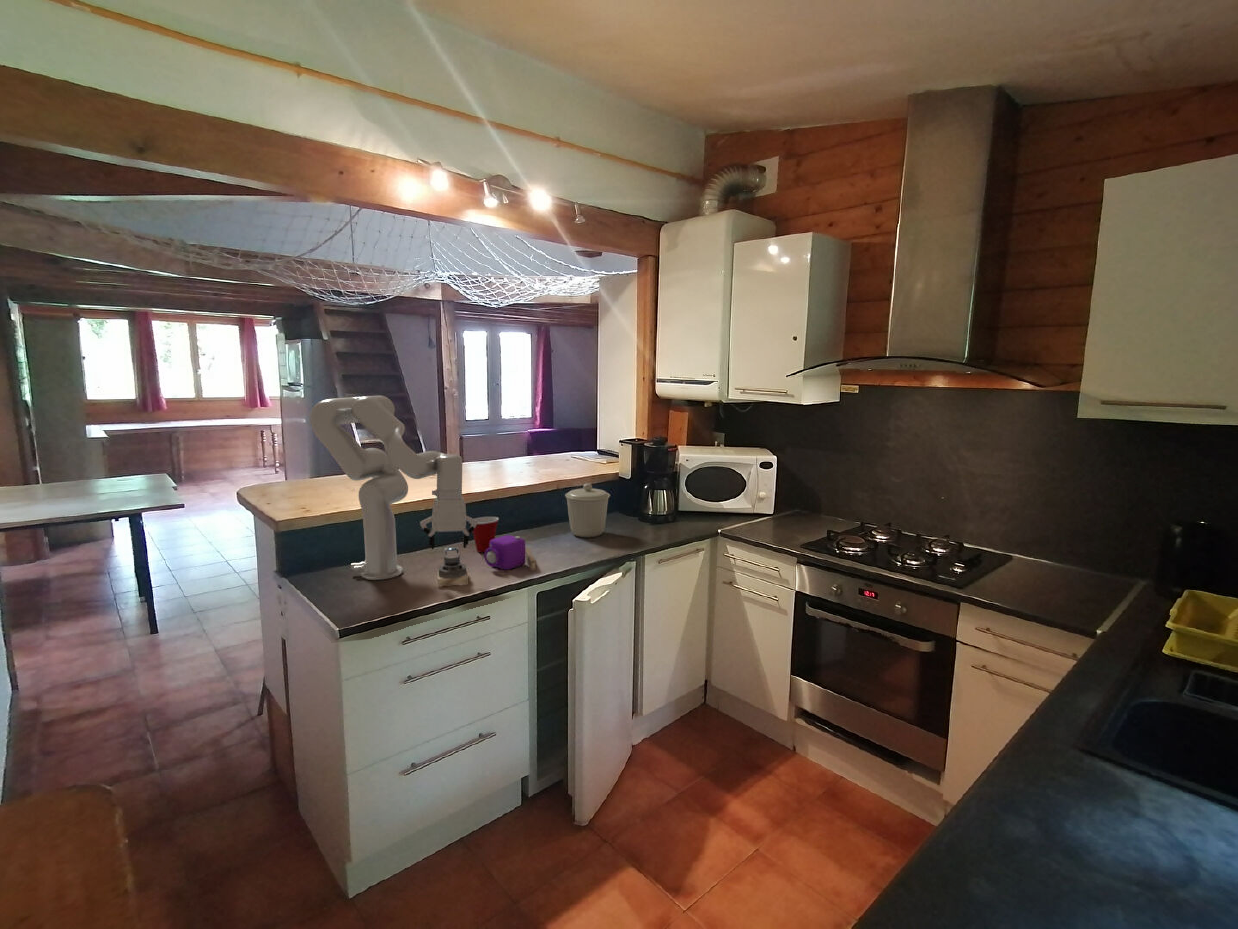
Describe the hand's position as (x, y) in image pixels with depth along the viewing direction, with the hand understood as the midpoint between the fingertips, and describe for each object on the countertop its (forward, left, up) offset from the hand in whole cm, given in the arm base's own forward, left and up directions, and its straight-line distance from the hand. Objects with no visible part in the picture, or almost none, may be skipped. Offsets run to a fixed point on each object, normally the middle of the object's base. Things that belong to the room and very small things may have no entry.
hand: (448, 547), depth 191 cm
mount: (+1, -1, -11) cm, 11 cm away
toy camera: (+18, +10, -11) cm, 23 cm away
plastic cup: (+13, +30, -11) cm, 34 cm away
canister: (+55, +42, -11) cm, 70 cm away
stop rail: (+27, +10, -11) cm, 31 cm away
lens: (+1, -1, -9) cm, 9 cm away
